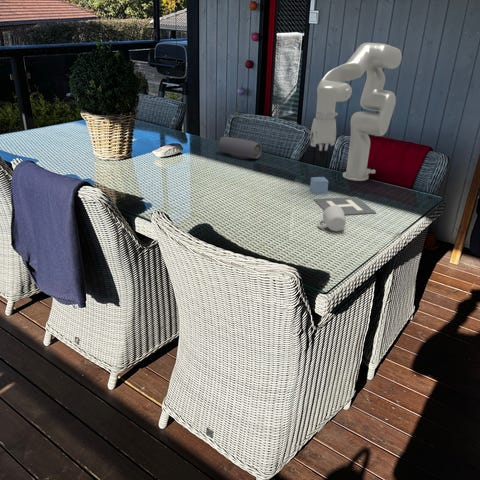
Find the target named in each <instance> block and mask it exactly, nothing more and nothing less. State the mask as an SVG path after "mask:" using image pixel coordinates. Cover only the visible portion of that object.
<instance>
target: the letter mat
mask: <svg viewBox="0 0 480 480" xmlns="http://www.w3.org/2000/svg"><path fill="white" fill-rule="evenodd" d="M313 201H314V203H316V204H317V205H318V206H319V207H320V208H321V210H323V212H324V211H325V209H327V208H328V207H330V206H339V207H341V208H342V209H343V211H344V215H345V217H346V216H357V215H358V216H359V215H360V216H361V215H372V214H373V215H375V214H377V212H376V211H375V210H374V209H373V208H372V207H370V206H369V205H367V204H366V202H364V201H363V200H362V199H360V198H359V197H358V196H350V197H349V196H348V197H347V196H346V197H330V198H314V199H313Z"/></svg>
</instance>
